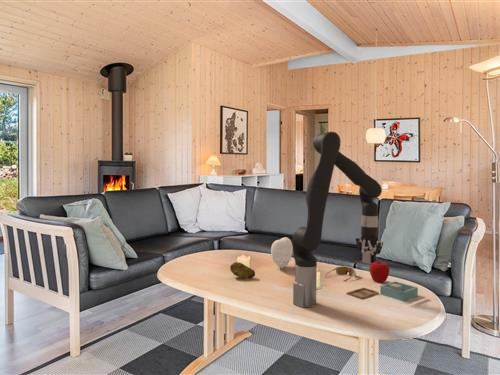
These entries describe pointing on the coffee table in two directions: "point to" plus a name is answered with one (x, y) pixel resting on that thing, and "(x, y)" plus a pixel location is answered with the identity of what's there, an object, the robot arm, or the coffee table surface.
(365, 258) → the block
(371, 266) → the apple
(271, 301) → the coffee table surface
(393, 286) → the matte taupe cube
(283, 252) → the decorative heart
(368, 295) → the tray
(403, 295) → the teal open box
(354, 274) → the sunglasses
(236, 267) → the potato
